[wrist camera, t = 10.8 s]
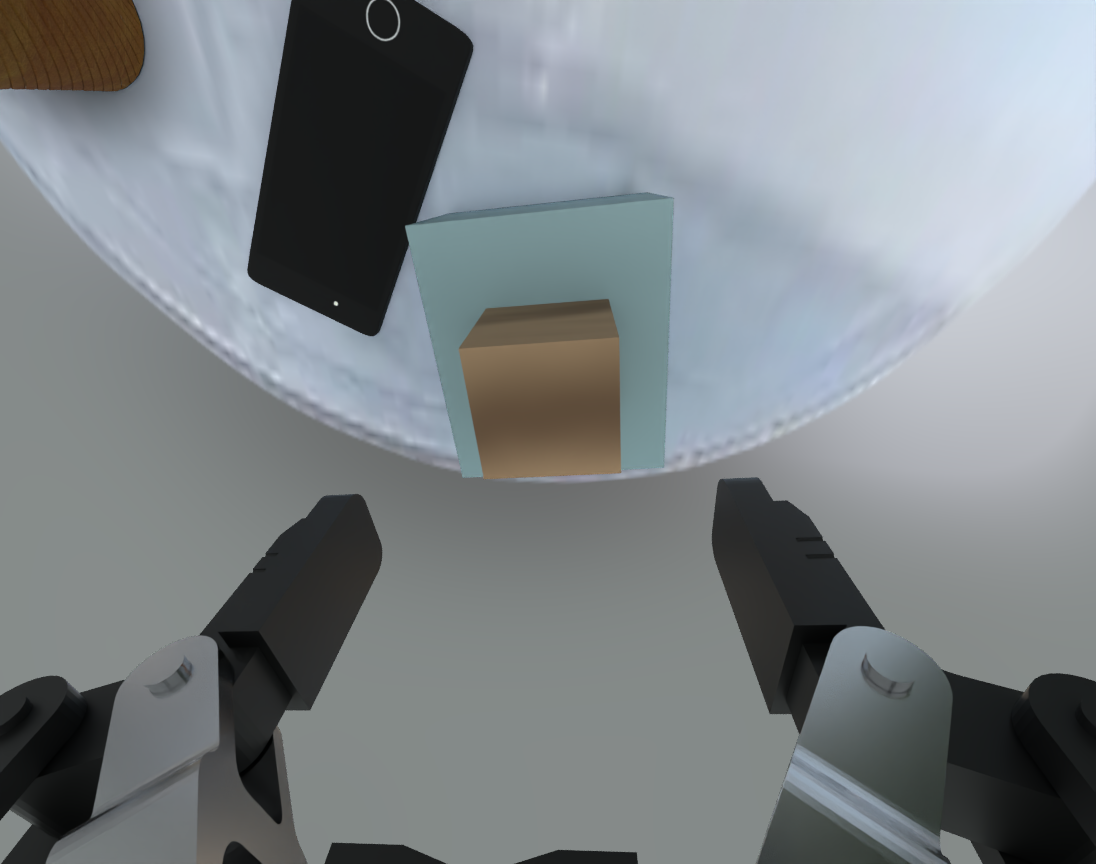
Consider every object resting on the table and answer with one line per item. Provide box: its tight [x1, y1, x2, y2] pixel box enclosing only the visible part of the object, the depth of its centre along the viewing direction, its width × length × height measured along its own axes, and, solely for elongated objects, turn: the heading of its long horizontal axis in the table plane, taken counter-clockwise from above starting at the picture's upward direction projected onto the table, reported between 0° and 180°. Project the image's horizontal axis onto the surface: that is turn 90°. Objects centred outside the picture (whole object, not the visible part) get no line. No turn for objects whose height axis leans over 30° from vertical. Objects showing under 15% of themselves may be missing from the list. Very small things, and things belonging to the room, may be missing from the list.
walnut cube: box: [459, 299, 621, 479], centre depth 21 cm, size 6×6×6 cm
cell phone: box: [247, 0, 473, 336], centre depth 27 cm, size 9×18×1 cm, turn 152°
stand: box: [405, 193, 674, 478], centre depth 27 cm, size 14×12×8 cm
